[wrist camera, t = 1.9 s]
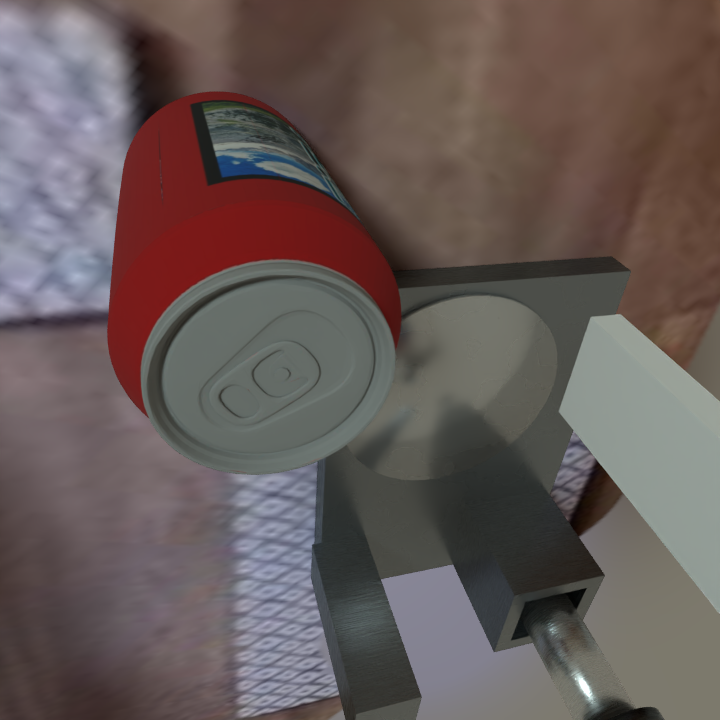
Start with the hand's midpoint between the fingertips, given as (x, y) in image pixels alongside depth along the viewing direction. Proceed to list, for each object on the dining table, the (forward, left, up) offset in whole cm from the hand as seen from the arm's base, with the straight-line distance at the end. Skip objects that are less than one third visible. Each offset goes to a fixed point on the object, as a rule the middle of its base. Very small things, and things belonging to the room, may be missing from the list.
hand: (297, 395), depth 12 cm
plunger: (+15, -21, -7) cm, 27 cm away
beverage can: (0, 0, -13) cm, 13 cm away
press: (+11, -14, -13) cm, 22 cm away
